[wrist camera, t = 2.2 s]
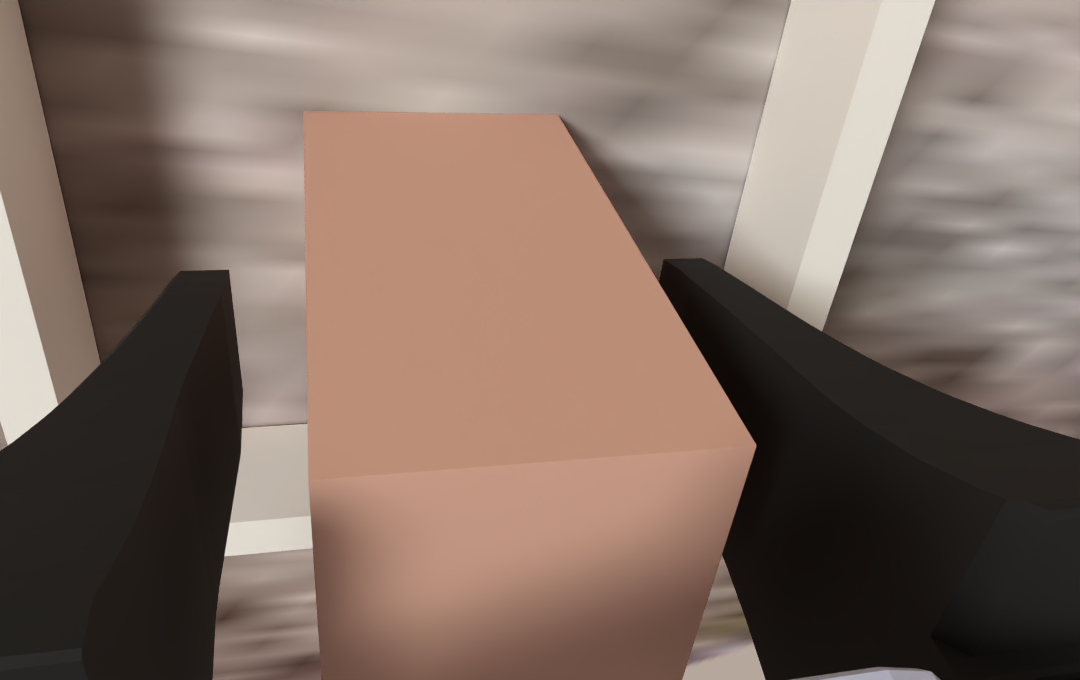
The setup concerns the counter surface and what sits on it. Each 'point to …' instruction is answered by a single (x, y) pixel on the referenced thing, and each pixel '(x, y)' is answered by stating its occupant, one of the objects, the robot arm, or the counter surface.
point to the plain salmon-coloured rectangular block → (499, 412)
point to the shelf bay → (753, 257)
